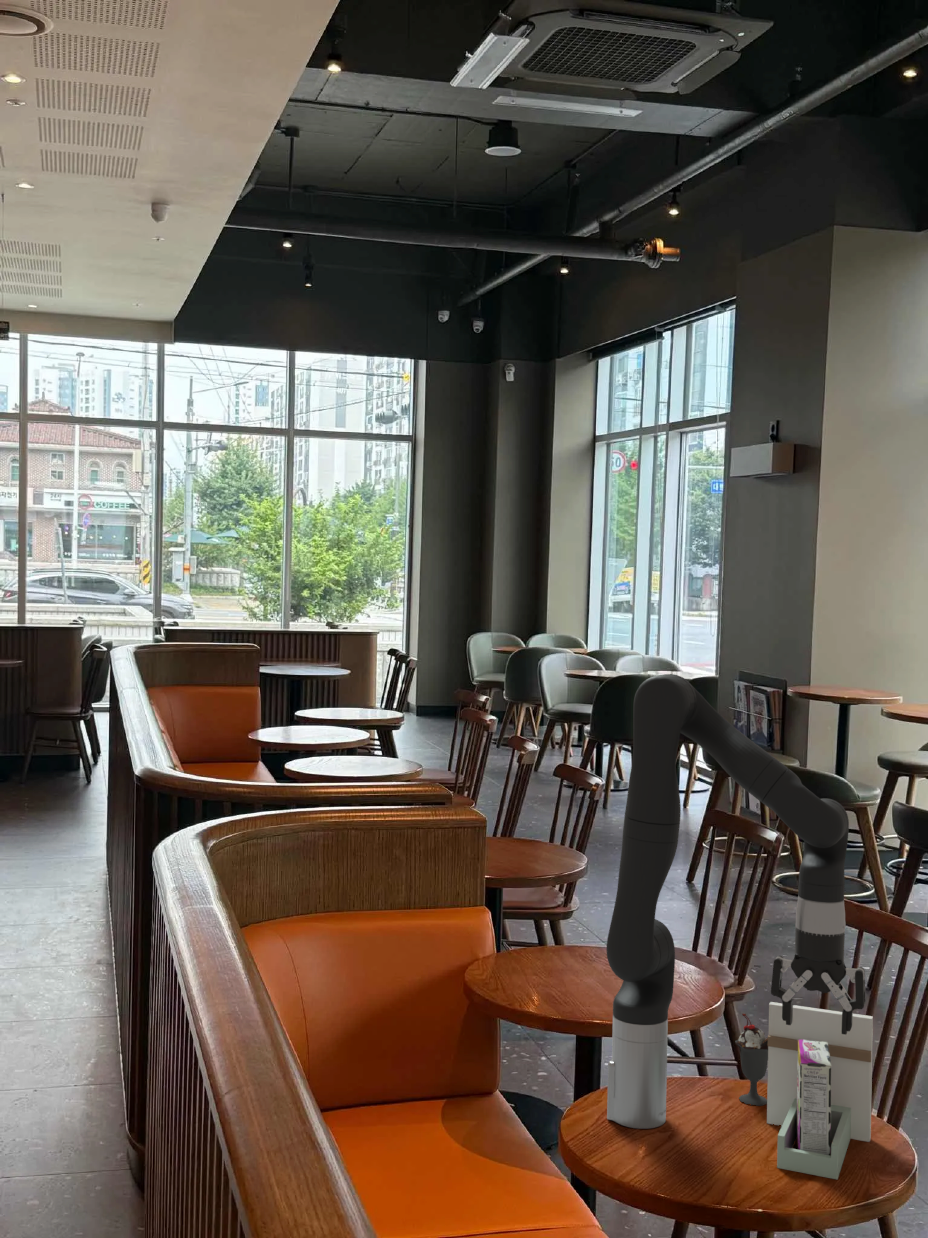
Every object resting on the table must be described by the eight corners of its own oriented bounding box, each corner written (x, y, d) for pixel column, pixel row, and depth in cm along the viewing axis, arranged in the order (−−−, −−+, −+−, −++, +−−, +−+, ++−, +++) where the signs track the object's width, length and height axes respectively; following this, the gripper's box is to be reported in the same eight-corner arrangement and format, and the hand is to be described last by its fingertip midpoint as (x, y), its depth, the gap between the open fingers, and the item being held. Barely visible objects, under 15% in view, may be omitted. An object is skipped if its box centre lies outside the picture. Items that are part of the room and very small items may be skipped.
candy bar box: (795, 1138, 199) (797, 1038, 199) (827, 1142, 198) (828, 1041, 198) (797, 1168, 188) (799, 1061, 188) (831, 1172, 187) (833, 1065, 187)
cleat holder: (747, 1162, 190) (750, 1033, 190) (768, 1120, 206) (770, 1002, 206) (858, 1184, 183) (860, 1050, 183) (870, 1139, 200) (872, 1016, 200)
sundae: (728, 1093, 218) (730, 1009, 218) (765, 1093, 218) (767, 1009, 218) (739, 1108, 211) (741, 1021, 211) (777, 1108, 212) (779, 1021, 212)
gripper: (770, 925, 193) (766, 1028, 193) (864, 938, 187) (861, 1043, 187) (778, 915, 200) (775, 1014, 200) (869, 927, 194) (866, 1029, 194)
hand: (816, 1028), depth 193 cm, fingers open, 8 cm apart
